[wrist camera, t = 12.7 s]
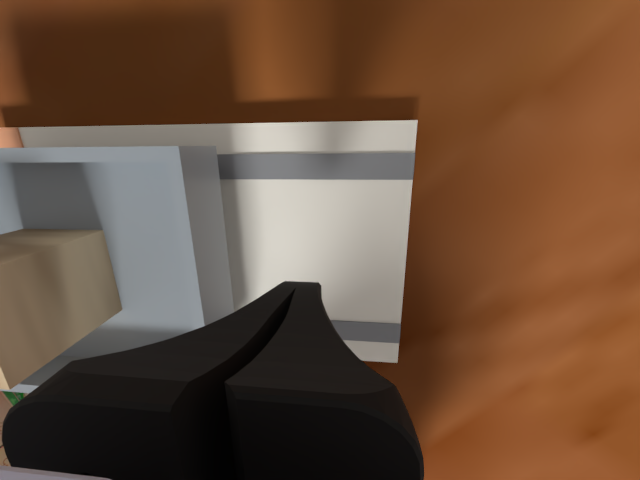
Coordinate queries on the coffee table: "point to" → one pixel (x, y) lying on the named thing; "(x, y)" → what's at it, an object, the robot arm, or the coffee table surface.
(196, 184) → the grey storage bin
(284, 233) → the track board
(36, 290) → the maple block
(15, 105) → the coffee table surface
